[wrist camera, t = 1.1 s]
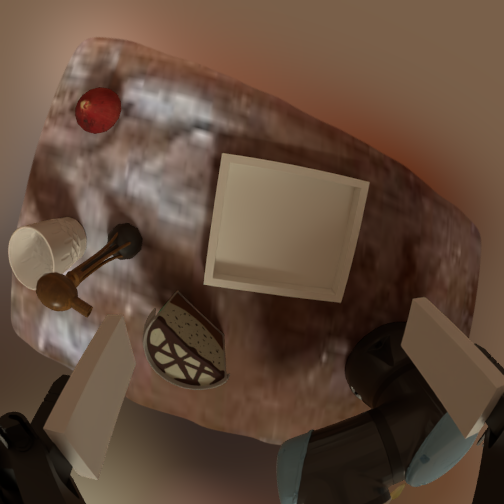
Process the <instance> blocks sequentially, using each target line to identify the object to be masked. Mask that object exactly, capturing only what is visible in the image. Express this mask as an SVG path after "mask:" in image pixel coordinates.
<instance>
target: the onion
mask: <svg viewBox="0 0 504 504" xmlns="http://www.w3.org/2000/svg"><path fill="white" fill-rule="evenodd" d="M120 112H121V101H120V99H119V97H118V95H117V94H116V93H115V92H113V91H112V90H110V89H107V88H101V87H99V88H95V89H91V90H89V91H88V92H86V93H85V94H84V95H82V97H81V98H80V99H79V101H78V103H77V106H76V110H75V116H76V120H77V123H78V124H79V125H80V126H81V127H82V128H83V129H84V130H85V131H87V132H90V133H94V134H97V133H101V132H105V131H107V130H109V129H110V128H111V127H112V126H114V124H115V123H116V121H117V120H118V119H119V116H120Z"/></svg>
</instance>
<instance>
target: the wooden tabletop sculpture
mask: <svg viewBox="0 0 504 504" xmlns="http://www.w3.org/2000/svg"><path fill="white" fill-rule="evenodd" d="M141 246H142V237H141V234H140V232H139V230H138V228H136V227H134V226H132V225H131V224H129V223H125V224H118V225H117V226H116V227H115V228H114V229H113V230H112V231H111V232H110V233H109V234H108V242H107V244H106V245H105V246H104V247H103V248H102V249H101V250H100V251H98V252H97V253H96V254H94V255H93V256H92V257H90V258H89V259H88V260H86V261H85V262H83V263H82V264H80V265H79V266H77V267H76V268H74V269H73V270H72V271H69V272H68V273H67V274H66V276H65V275H63V274H60V273H57V272H51V273H45V274H44V275H43V276H42V277H40V279H39V280H38V281H37V286H36V293H37V296H38V298H39V299H40V301H41V302H42V303H43V304H44V305H45V306H46V307H48V308H50V309H51V310H54V311H65V310H68V309H70V308H71V307H72V308H73V309H74V310H76V311H78V312H79V313H81V314H82V315H84V316H85V317H88V316H89V315H90V313H91V311H92V308H93V307H92V306H91V305H89V304H88V303H86V302H85V301H83V300H81V299H80V298H78V292H77V289H76V287H77V286H78V285H79V284H80V283H81V282H82V281H83V280H84V279H85V278H87V277H88V276H89V275H90V274H92V273H93V272H94V271H96V270H97V269H98V268H100V267H101V266H103V265H104V264H106V263H108V262H109V261H112V260H114V259H116V258H118V259H120V260H123V259H131V258H133V257H134V256H135V255H136V254H137V253H138V252H139V251H140V250H141ZM105 249H106V250H105ZM111 255H113V257H111V258H109V259H107V258H108V257H110V256H111ZM105 259H107V260H105ZM104 260H105V261H104ZM103 261H104V262H103ZM101 262H102V263H101Z"/></svg>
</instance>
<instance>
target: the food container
mask: <svg viewBox="0 0 504 504" xmlns="http://www.w3.org/2000/svg"><path fill="white" fill-rule="evenodd" d="M155 313H156V308H154V310H153V311H152V312H151V313H150V315H149V316H148V318H147V320H146V323H145V326H144V333H143V348H144V352H145V355H146V358H147V360H148V362H149V364H150V365H151V367H152V368H153V369H154V371H155V372H156V373H157V374H158V375H160V376H161V377H162V378H163V379H165V380H166V381H168V382H170V383H172V384H174V385H176V386H179V387H182V388H186V389H193V390H204V389H210V388H215V387H217V386H220V385H222V384H224V383H226V382H227V380H228V379H229V376H230V374H226V358H225V340H224V334H223V333H222V332H221V331H220V330H219V329H218V328H216V327H215V326H214V325H213V324H212V323H211V322H210V321H209V320H208V319H207V318H206V317H205V316H204V315H203V314H201V313H200V312H199V311H198V310H197V309H196V308H195V307H194V306H193V305H192V304H191V303H190V302H189V301H188V300H187V299H186V298H185V297H184V296H183V295H182V294H181V293H180V292H179V291H178V290H177V291H176V292H175V293H174V294H173V295H172V297H171V298H170V299H169V300H168V301H167V303H166V304H165V305H164V306H163V307H162V309H161V310H160V311H159V312H158V314H157V315H156V316H155Z"/></svg>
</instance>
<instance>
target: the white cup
mask: <svg viewBox="0 0 504 504" xmlns="http://www.w3.org/2000/svg"><path fill="white" fill-rule="evenodd" d="M86 239H87V238H86V235H85V232H84V229H83V227H82V226H81V225H80V224H79V222H78V221H77V220H75V219H73V218H70V217H62V218H57V219H50V220H46V221H41V222H37V223H34V224H30V225H27V226H23V227H20V228H18V229H17V230H16V231H15V232H14V233H13V234H12V236H11V239H10V242H9V247H8V256H9V261H10V265H11V268H12V270H13V272H14V274H15V276H16V277H17V279H18V280H19V281H20V282H21V283H22V284H23V285H24V286H26V287H27V288H29V289H32V290H36V286H37V281H38V280H39V279H40V277H42V276H43V275H44V274H45V273H51V272H57V273H60V274H63V273H64V272H65V271H66V270H68V269H69V268H70V267H71V266H72V265H73V264H74V263H75V262H76V261H77V260H78V259H80V258H81V257H82V256H83V254H84V252H85V250H86Z"/></svg>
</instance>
